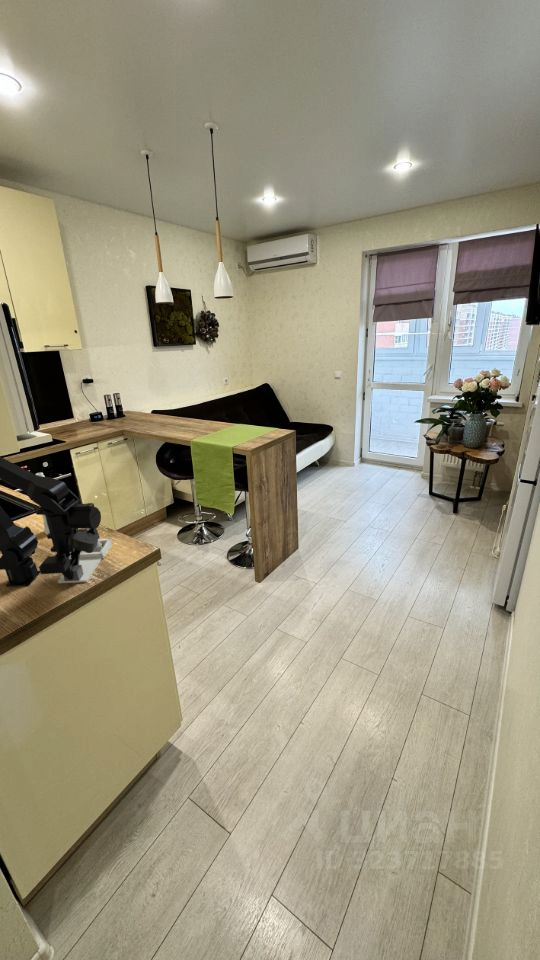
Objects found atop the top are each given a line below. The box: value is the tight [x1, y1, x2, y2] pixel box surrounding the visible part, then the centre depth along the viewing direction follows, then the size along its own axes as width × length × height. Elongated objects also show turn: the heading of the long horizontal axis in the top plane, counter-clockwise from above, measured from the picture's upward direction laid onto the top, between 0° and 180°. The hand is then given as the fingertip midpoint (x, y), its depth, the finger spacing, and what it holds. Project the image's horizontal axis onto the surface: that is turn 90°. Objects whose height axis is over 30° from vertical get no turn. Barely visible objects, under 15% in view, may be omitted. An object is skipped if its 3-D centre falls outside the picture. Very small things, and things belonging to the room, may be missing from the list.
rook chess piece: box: [87, 529, 104, 552], centre depth 121 cm, size 4×4×8 cm
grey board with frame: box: [57, 538, 114, 584], centre depth 115 cm, size 9×20×4 cm, turn 3°
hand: (73, 575), depth 107 cm, fingers open, 3 cm apart
